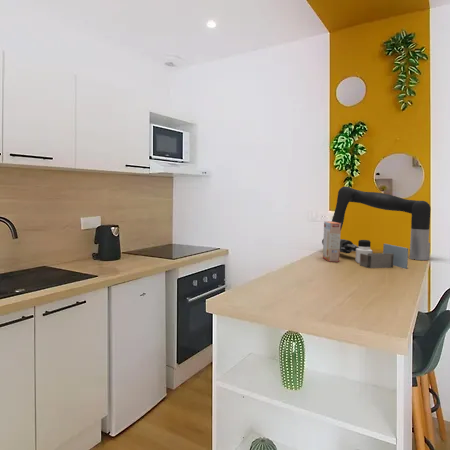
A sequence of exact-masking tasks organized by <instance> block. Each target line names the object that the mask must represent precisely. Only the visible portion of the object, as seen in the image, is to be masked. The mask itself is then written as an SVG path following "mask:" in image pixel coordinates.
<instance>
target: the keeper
mask: <svg viewBox="0 0 450 450" xmlns="http://www.w3.org/2000/svg"><path fill="white" fill-rule="evenodd" d="M393 257H394V254H393V253H383V252H382V253H379V252H378V253H372V254H368V255H366V254H360V263H359V266H361V267H363V268H367V269H385V268H387V269H389V268H390V269H391V268H394V265H393Z"/></svg>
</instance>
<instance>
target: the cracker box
mask: <svg viewBox="0 0 450 450" xmlns="http://www.w3.org/2000/svg"><path fill="white" fill-rule="evenodd" d="M341 232H342V229H341V223H337V222H332V221H324V222H323V239H322V240H323V244H322V259H324V260H326V261H327V262H330V263H340V253H341V252H340V239H341V234H342V233H341Z"/></svg>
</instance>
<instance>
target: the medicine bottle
mask: <svg viewBox="0 0 450 450" xmlns="http://www.w3.org/2000/svg"><path fill="white" fill-rule="evenodd" d="M371 243H372V242H371V241H370V240H369V239H359V240H358V245H357V246H358V247H359V248H356V251H355V262H356V263H358V264H360V254H366V255H368V254H372V253H373V252H374V251H373V250H372V249H371Z"/></svg>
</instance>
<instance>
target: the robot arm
mask: <svg viewBox="0 0 450 450" xmlns="http://www.w3.org/2000/svg"><path fill="white" fill-rule="evenodd" d="M336 197H337V198H336V204H335V205H336V206H335V209H334V214H333V216H332V218H331V222H337V223H341V230H342V228H343V225H344V221H345V214H346V211H347V208H348V206H349V203H358V204H362V205H365V206H368V207H372V208H374V209H380V210H384V211H393V212H394V211H395V212H403V213H407V214H411V219H410V220H411V221H410V222H411V225H410V244H409V259H410V260H414V259H415V260H416V261H429V260H430V255H431V254H430V252H431V243H430V224H431V210H432V209H431V205H430V203H429V202H428V201H425V200H414V199H406V198H402V197H399V196H396V195H393V194H389V193H383V192H377V191H376V192H375V191H363V190H360V189H359V190H358V189H355V188H352V187H349V186H346V185H345V186H342V187H340V188H339V190H338V191H337V196H336ZM321 240H322V241H321V244H322V245H323V239H321ZM356 248H359V247H358V245H357V244H354V243H353V242H352V241H351V240H348V239H345V238H344V239H341V238H340V253H343V254H350V253H352V252H356Z"/></svg>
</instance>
